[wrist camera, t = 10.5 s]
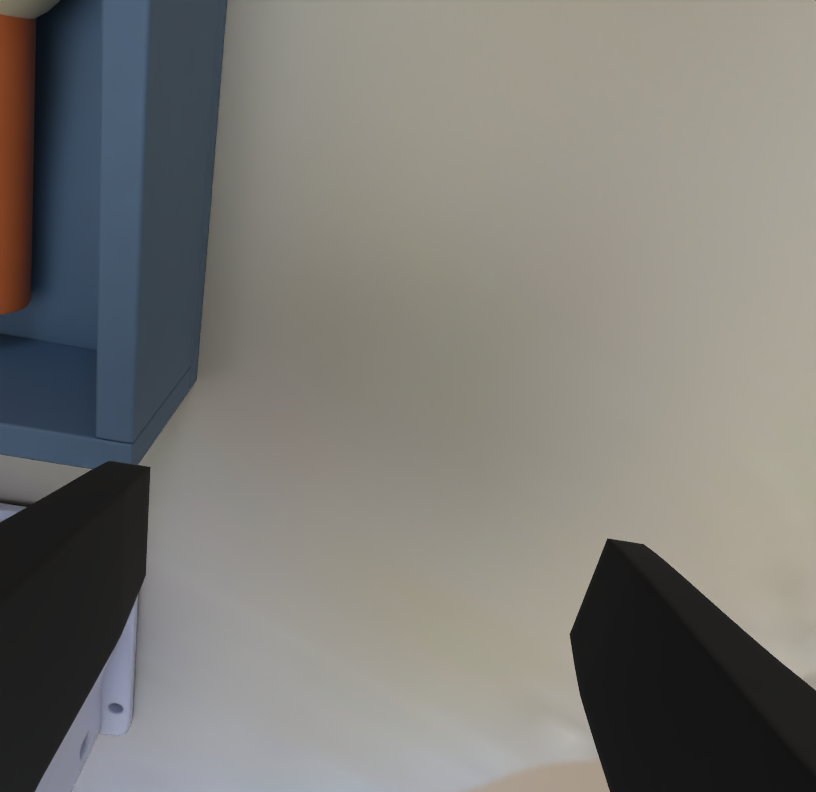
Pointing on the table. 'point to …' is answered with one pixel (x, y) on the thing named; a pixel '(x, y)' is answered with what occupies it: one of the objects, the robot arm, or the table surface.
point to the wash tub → (114, 228)
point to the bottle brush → (17, 147)
